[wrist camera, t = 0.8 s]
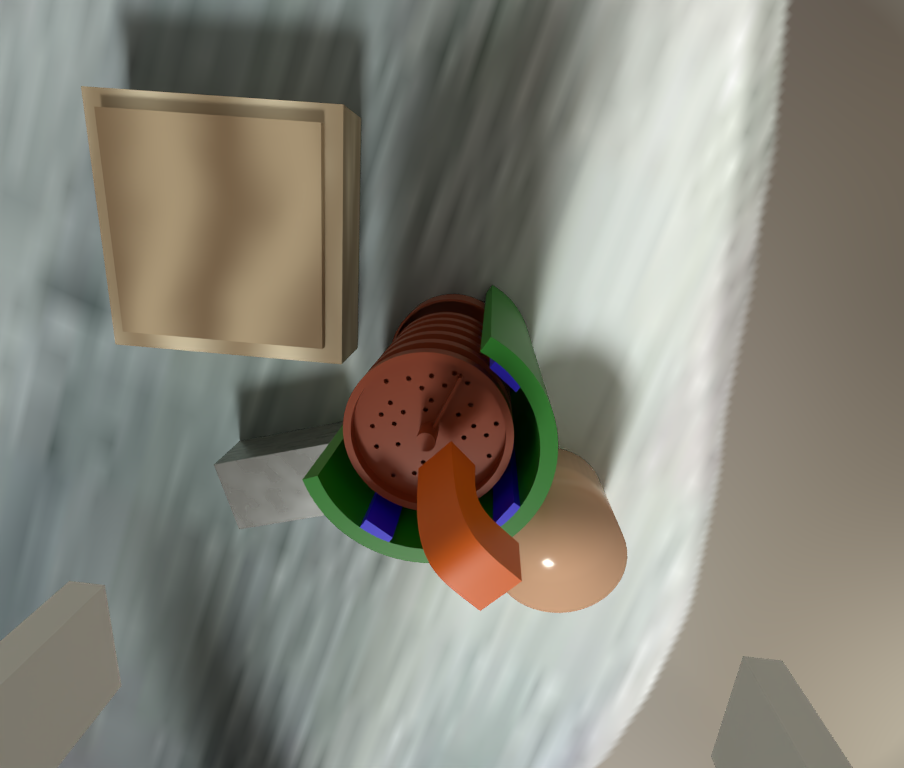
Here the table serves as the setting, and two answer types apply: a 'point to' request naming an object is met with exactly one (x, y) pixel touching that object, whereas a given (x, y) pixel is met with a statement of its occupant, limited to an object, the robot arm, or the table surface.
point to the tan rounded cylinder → (570, 543)
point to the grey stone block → (273, 475)
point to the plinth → (228, 222)
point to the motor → (445, 446)
